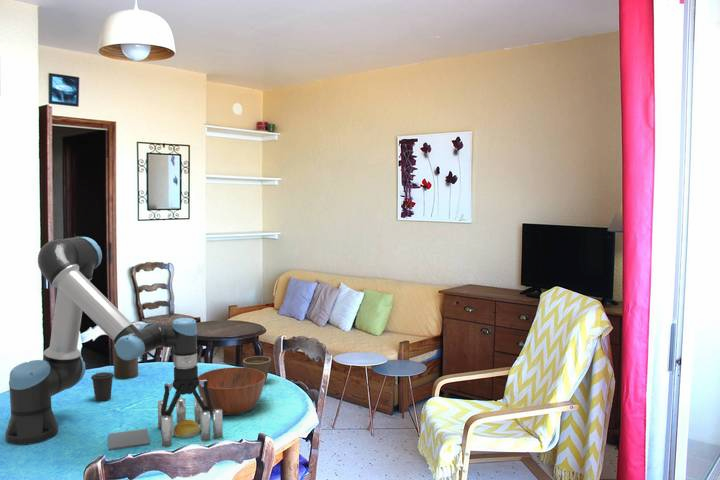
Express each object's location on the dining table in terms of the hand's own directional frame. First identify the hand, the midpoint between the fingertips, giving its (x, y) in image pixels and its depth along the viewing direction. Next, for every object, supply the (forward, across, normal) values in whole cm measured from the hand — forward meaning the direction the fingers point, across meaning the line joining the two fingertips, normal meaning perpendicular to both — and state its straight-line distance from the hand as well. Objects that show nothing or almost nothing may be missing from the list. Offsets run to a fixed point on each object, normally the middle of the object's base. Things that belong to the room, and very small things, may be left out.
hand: (187, 432), depth 202 cm
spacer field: (0, +1, 0) cm, 1 cm away
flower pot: (0, +33, +42) cm, 53 cm away
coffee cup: (0, -26, +44) cm, 51 cm away
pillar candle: (0, -17, +71) cm, 73 cm away
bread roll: (+1, 0, 0) cm, 1 cm away
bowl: (+1, +18, +18) cm, 25 cm away
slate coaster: (0, -18, +1) cm, 18 cm away
